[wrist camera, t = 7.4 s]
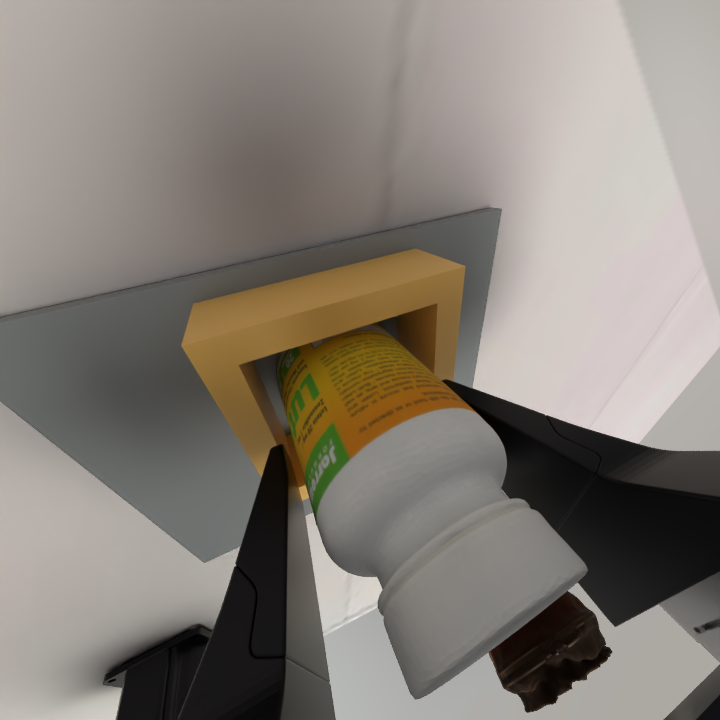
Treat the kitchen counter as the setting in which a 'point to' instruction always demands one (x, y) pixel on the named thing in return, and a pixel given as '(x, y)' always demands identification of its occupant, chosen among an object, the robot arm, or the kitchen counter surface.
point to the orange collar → (319, 332)
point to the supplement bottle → (418, 502)
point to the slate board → (192, 378)
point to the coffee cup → (550, 653)
